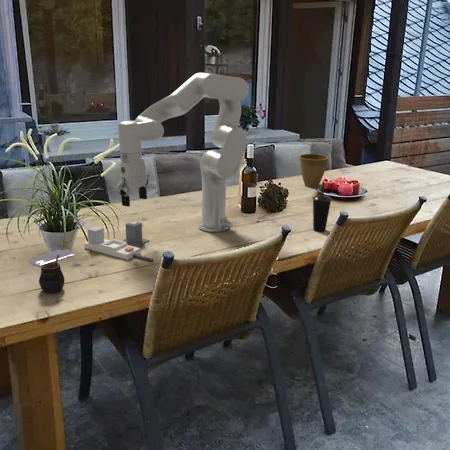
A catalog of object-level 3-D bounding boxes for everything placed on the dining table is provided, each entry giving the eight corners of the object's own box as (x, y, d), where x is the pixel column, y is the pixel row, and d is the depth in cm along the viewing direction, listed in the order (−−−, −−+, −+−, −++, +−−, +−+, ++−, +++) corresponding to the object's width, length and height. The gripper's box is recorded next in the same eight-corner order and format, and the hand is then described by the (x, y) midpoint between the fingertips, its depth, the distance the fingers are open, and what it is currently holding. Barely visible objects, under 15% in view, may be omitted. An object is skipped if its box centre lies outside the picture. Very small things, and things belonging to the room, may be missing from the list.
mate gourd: (34, 293, 153) (31, 262, 150) (48, 283, 160) (45, 253, 157) (57, 296, 151) (54, 264, 148) (69, 285, 158) (67, 255, 155)
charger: (142, 240, 195) (141, 222, 192) (135, 243, 191) (134, 225, 189) (133, 238, 197) (132, 220, 194) (126, 241, 193) (125, 223, 191)
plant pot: (294, 182, 285) (296, 153, 280) (320, 182, 287) (323, 153, 282) (301, 189, 271) (303, 159, 266) (328, 189, 273) (331, 159, 268)
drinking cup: (330, 228, 214) (334, 181, 207) (327, 234, 207) (331, 186, 200) (311, 226, 216) (315, 179, 209) (308, 231, 209) (312, 184, 202)
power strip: (159, 258, 180) (159, 239, 177) (146, 265, 174) (146, 246, 172) (98, 242, 193) (97, 224, 191) (84, 248, 187) (83, 230, 185)
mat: (149, 241, 195) (149, 240, 195) (135, 247, 189) (135, 246, 189) (132, 236, 199) (132, 236, 199) (118, 243, 193) (118, 242, 192)
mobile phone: (77, 252, 181) (38, 265, 171) (77, 255, 182) (38, 267, 171) (65, 247, 186) (26, 258, 175) (65, 249, 186) (26, 261, 176)
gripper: (123, 162, 175) (127, 210, 181) (154, 152, 189) (157, 197, 195) (106, 160, 178) (110, 207, 184) (138, 150, 192) (141, 194, 198)
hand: (134, 202), depth 189 cm, fingers open, 9 cm apart
